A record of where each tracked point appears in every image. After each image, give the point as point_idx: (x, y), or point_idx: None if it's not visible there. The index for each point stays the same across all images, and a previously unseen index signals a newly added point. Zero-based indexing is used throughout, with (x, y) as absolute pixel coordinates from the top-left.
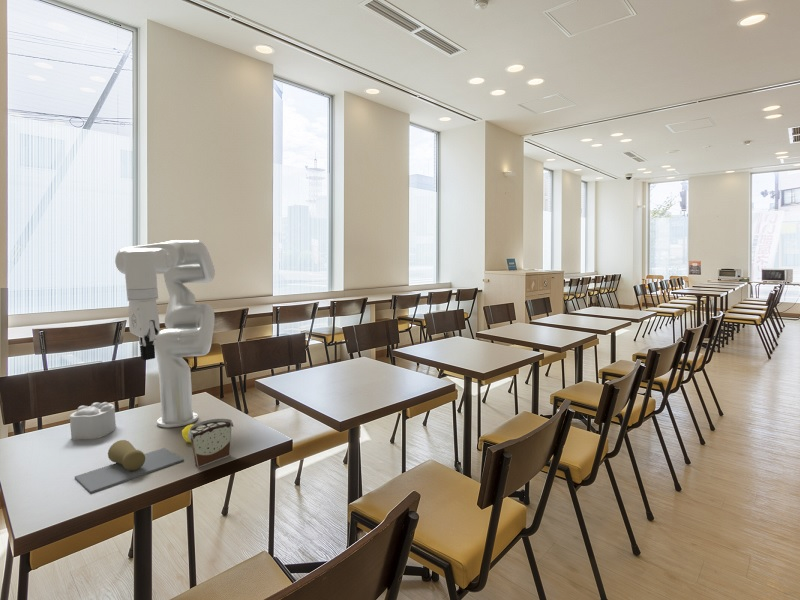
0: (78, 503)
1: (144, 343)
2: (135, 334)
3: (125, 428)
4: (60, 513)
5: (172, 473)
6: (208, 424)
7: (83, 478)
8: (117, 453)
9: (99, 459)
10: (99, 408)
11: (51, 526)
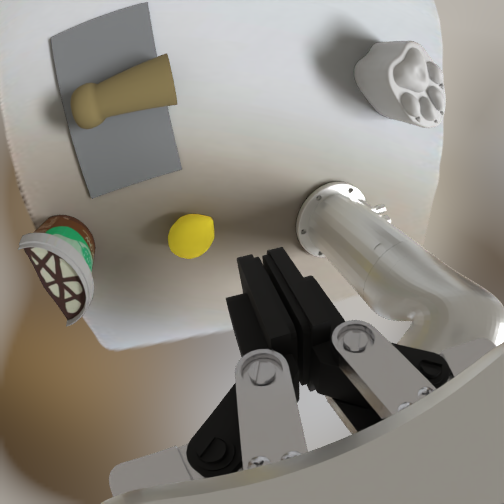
0: (30, 27)
1: (238, 393)
2: (374, 448)
3: (368, 128)
4: (18, 11)
5: (47, 173)
6: (75, 284)
7: (122, 16)
8: (126, 71)
9: (221, 45)
10: (422, 98)
11: None
